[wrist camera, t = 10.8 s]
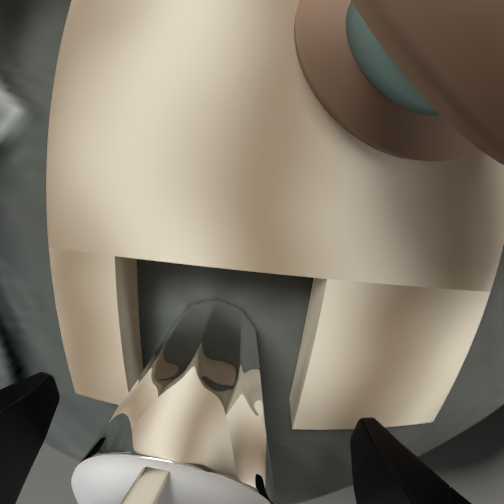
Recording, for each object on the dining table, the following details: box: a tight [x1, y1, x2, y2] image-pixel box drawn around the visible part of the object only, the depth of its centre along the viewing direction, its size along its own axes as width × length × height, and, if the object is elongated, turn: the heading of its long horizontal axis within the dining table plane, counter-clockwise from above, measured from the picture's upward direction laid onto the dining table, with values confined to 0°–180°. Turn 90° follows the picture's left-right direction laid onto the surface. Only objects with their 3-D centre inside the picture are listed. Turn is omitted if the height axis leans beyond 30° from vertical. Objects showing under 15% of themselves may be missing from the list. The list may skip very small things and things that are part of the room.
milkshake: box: [71, 299, 277, 504], centre depth 8 cm, size 4×5×10 cm
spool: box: [294, 0, 504, 165], centre depth 5 cm, size 7×7×6 cm
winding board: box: [46, 0, 504, 430], centre depth 10 cm, size 16×20×2 cm
